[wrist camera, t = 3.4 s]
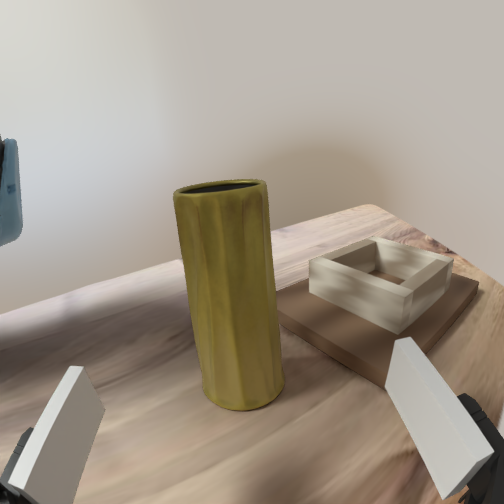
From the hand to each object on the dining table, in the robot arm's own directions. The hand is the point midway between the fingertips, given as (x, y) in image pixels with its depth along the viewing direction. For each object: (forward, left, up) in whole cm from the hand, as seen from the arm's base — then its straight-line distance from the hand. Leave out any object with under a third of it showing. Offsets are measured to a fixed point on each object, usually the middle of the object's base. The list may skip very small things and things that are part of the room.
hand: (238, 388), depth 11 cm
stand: (-7, +21, -7) cm, 23 cm away
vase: (-7, +4, -8) cm, 11 cm away
